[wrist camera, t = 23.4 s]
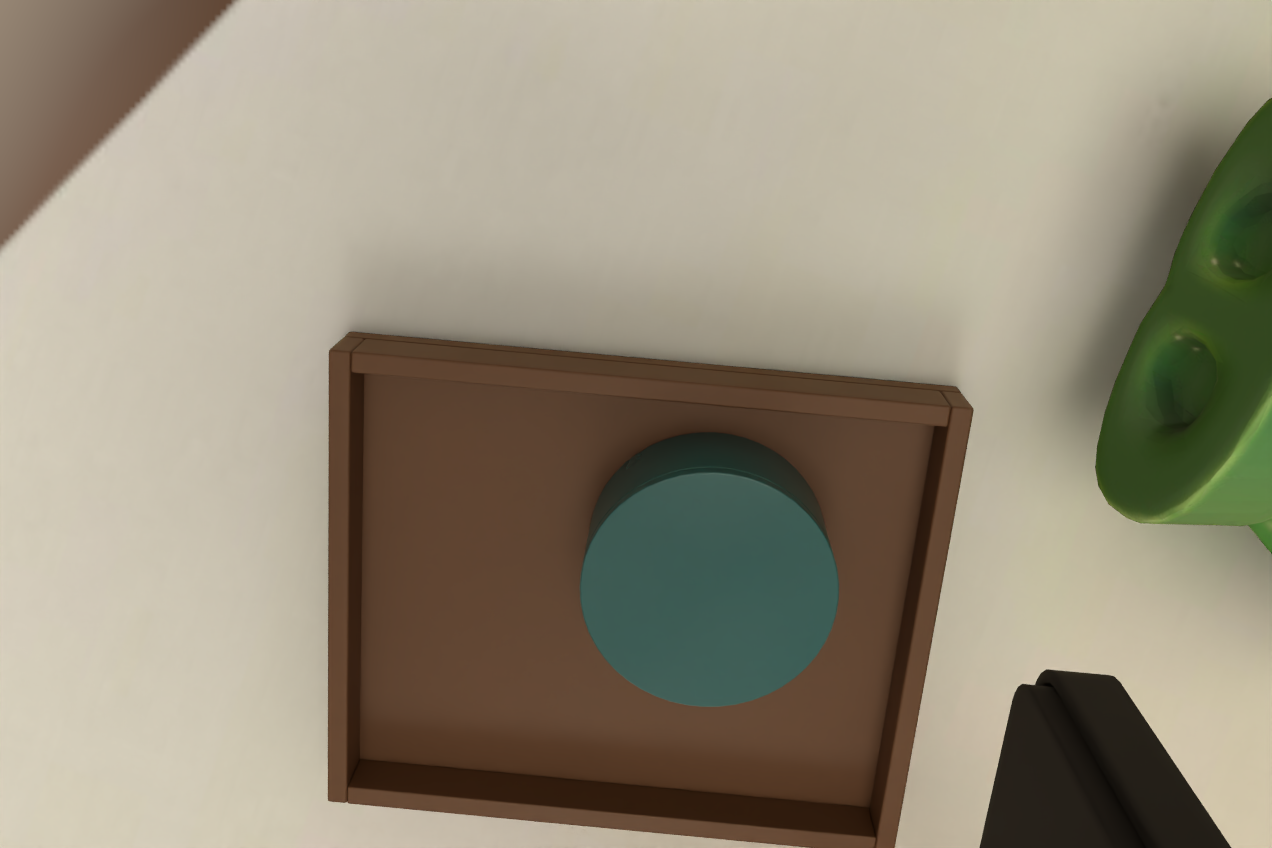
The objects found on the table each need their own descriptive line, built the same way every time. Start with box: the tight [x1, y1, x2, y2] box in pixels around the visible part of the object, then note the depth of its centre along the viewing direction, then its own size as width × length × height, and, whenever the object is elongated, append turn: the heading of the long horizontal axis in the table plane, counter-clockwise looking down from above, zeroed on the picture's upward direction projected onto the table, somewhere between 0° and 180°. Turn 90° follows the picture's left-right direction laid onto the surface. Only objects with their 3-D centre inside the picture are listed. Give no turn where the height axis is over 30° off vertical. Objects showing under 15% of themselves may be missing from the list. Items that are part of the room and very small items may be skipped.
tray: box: [328, 332, 973, 848], centre depth 35 cm, size 17×14×2 cm
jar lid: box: [580, 432, 839, 707], centre depth 33 cm, size 7×7×3 cm
